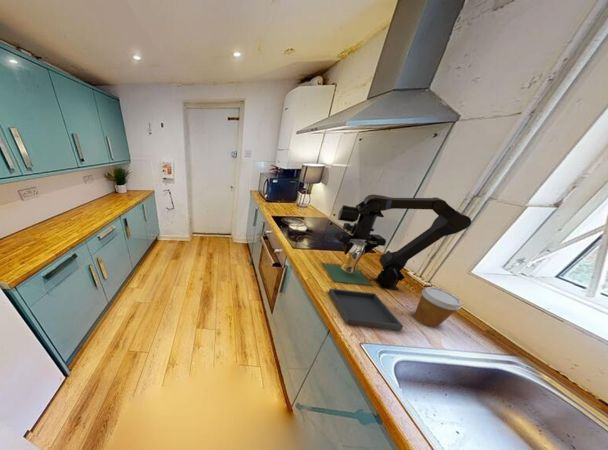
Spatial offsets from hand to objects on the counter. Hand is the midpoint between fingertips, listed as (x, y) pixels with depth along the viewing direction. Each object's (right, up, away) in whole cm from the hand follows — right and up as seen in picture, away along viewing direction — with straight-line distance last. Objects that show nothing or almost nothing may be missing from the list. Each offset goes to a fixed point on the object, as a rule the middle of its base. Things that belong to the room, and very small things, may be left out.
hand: (353, 254), depth 92 cm
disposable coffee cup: (+13, -22, -19) cm, 32 cm away
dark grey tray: (-9, -19, -15) cm, 26 cm away
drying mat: (0, -10, +5) cm, 12 cm away
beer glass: (0, -8, +4) cm, 9 cm away
